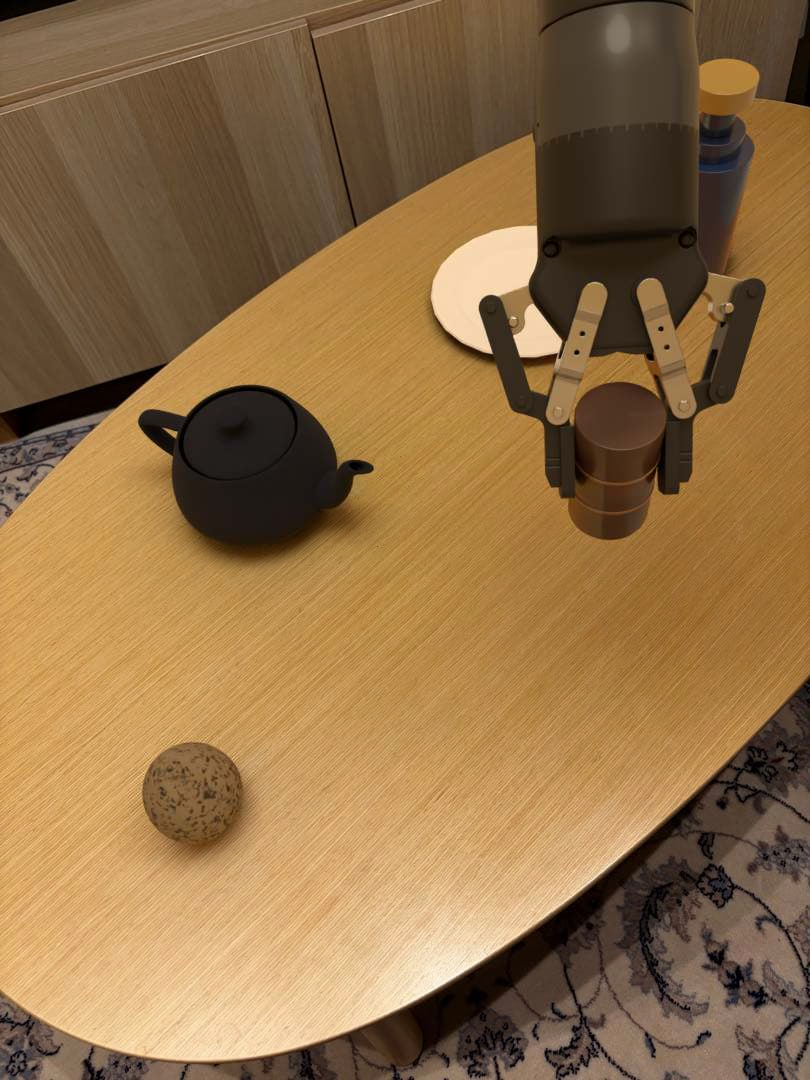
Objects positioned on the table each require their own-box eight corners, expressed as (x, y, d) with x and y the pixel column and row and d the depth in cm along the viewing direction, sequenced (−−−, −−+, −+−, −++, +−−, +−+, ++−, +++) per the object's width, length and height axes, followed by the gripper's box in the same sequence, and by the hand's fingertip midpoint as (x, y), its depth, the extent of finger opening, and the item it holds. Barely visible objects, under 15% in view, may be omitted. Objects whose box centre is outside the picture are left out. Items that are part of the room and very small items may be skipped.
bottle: (739, 254, 96) (788, 65, 78) (703, 297, 93) (746, 111, 75) (674, 230, 99) (707, 43, 81) (637, 271, 96) (663, 86, 78)
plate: (546, 212, 103) (546, 200, 102) (662, 309, 92) (665, 297, 91) (397, 287, 99) (395, 275, 97) (501, 397, 88) (500, 386, 87)
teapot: (125, 525, 85) (71, 446, 75) (204, 409, 92) (164, 323, 82) (353, 600, 77) (327, 525, 67) (420, 468, 84) (406, 382, 74)
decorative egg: (265, 834, 67) (228, 798, 59) (176, 869, 66) (127, 837, 58) (243, 751, 71) (206, 705, 63) (159, 783, 70) (111, 741, 62)
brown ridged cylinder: (664, 501, 49) (686, 406, 42) (618, 555, 47) (633, 466, 40) (597, 463, 51) (608, 367, 44) (551, 514, 49) (554, 422, 42)
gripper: (460, 130, 38) (476, 514, 41) (800, 100, 36) (786, 501, 40) (465, 165, 45) (479, 489, 49) (749, 142, 44) (741, 477, 47)
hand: (617, 492), depth 44 cm, fingers closed on brown ridged cylinder, 4 cm apart
